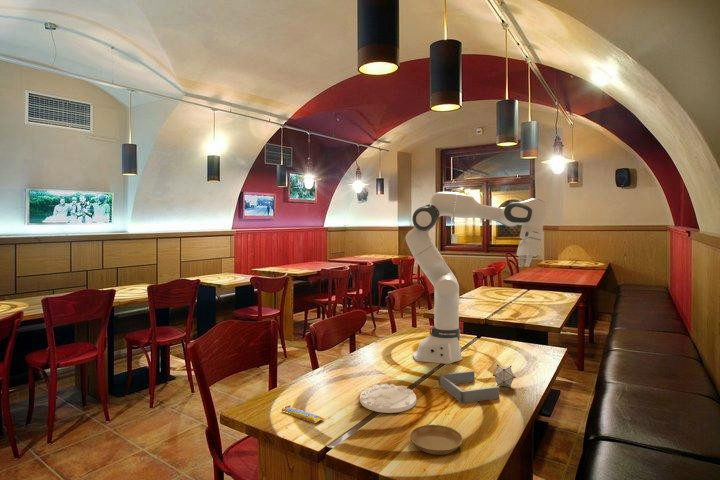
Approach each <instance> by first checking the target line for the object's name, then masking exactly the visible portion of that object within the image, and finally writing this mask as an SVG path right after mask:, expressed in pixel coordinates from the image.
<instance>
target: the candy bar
mask: <svg viewBox="0 0 720 480" xmlns="http://www.w3.org/2000/svg"><path fill="white" fill-rule="evenodd" d="M282 411H285V412H288V413H290V414H293V415H295V416H298V417H300V418H303V419H305V420H304V421H306V420H308V421H310V422H309V423H311V422H312V423H311V424H317V423H319V422H320V421H322V420H326V418H323V417H322V416H319V415H317V414H314V413H311V412H308V411H305V410H301V409H299V408H295V407H293V406H291V405H286V406H284V407H283V408H281V412H282ZM295 416H294V417H295ZM300 418H299V419H300ZM303 419H302V420H303ZM308 421H307V422H308Z"/></svg>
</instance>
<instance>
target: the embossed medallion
mask: <svg viewBox="0 0 720 480" xmlns="http://www.w3.org/2000/svg"><path fill="white" fill-rule="evenodd" d="M359 403H360V404H361V405H362V406H363V408H365V409H368V410H370V411H372V412H376V413H384V414H385V413H387V414H392V413H401V412H405V411H409V410H411V409H413V408H414V407H415V405H416V403H417V395H416V394H415V392H414V390H413V389H410V388H407V386H404V385H399V386H398V385H395V384H394V383H391V384H390V385H389V384H388V383H382V384H380V385H379V384H374V385H372V386H371V387H369V386H368V387H366V388H365V389H364V390H362V391H361V393H360V396H359Z"/></svg>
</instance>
